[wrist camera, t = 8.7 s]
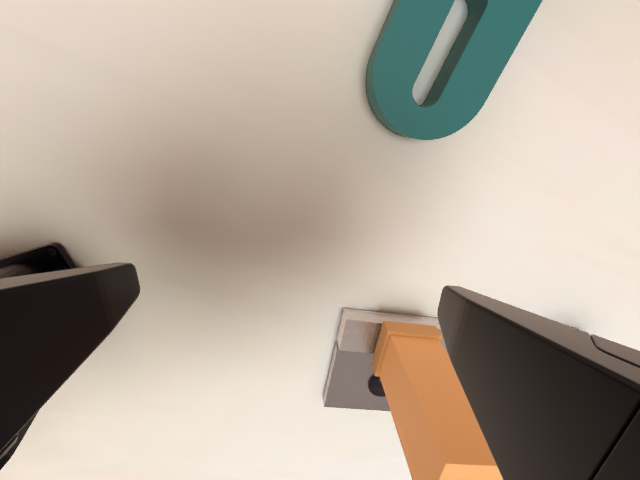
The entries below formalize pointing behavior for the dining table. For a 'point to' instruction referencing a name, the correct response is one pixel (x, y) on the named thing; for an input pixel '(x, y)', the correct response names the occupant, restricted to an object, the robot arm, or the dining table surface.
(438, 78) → the bracket
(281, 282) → the dining table surface
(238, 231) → the dining table surface
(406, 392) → the block
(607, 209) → the dining table surface
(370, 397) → the bolt plate
